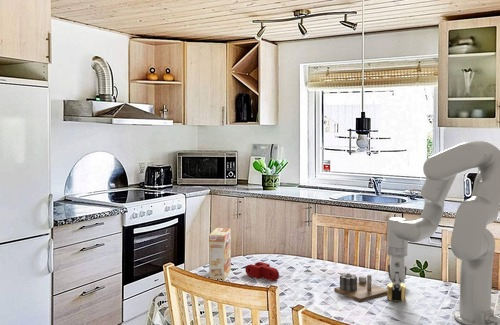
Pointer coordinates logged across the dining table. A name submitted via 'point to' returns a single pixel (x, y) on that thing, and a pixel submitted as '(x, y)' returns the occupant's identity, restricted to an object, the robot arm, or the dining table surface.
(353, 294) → the gear board
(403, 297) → the brass gear
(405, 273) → the cup
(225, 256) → the coffeecake box
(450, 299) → the dining table surface
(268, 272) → the mechanical linkage
